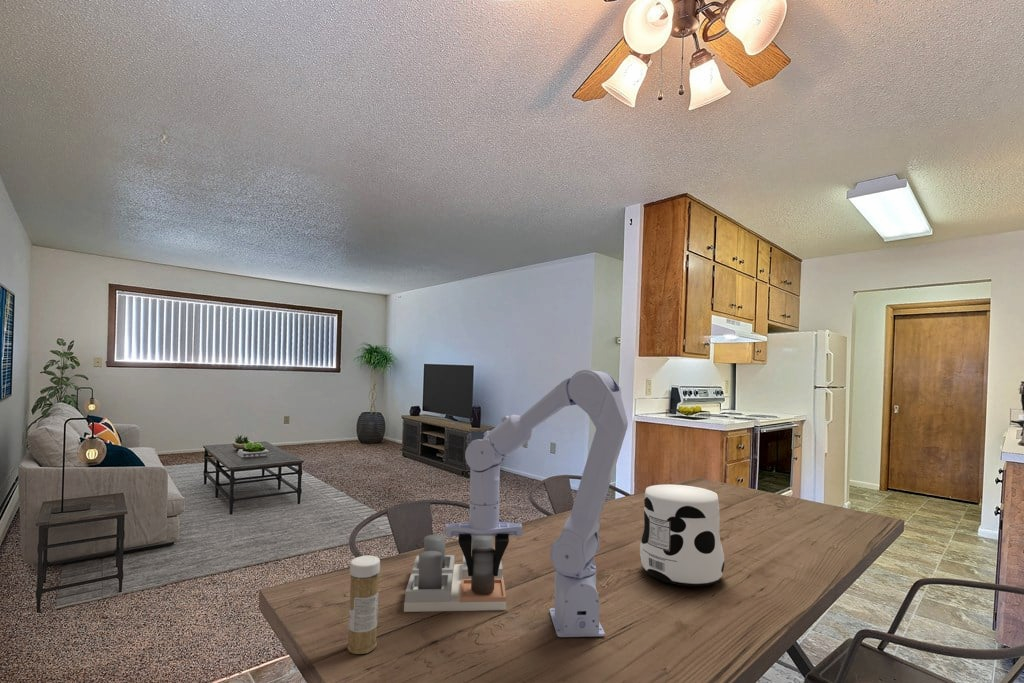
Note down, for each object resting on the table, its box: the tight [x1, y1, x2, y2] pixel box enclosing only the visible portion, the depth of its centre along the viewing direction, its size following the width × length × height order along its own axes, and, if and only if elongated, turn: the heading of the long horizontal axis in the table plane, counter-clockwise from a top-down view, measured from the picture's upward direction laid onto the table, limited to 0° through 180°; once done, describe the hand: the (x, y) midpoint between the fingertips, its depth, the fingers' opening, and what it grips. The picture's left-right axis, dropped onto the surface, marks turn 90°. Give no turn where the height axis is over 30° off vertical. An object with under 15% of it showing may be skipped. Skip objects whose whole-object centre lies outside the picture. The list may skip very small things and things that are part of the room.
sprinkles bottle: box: [347, 555, 381, 655], centre depth 80 cm, size 5×5×14 cm
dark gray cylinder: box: [471, 547, 495, 593], centre depth 97 cm, size 4×4×7 cm
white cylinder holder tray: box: [403, 534, 507, 613], centre depth 101 cm, size 18×18×8 cm
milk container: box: [639, 484, 725, 587], centre depth 110 cm, size 17×17×18 cm
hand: (483, 574), depth 97 cm, fingers closed on dark gray cylinder, 4 cm apart
